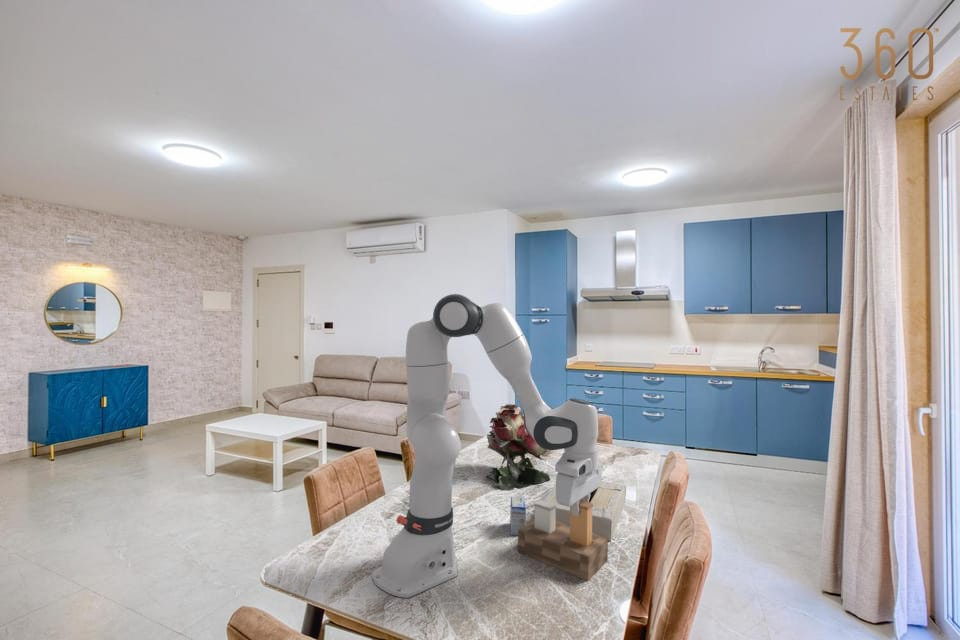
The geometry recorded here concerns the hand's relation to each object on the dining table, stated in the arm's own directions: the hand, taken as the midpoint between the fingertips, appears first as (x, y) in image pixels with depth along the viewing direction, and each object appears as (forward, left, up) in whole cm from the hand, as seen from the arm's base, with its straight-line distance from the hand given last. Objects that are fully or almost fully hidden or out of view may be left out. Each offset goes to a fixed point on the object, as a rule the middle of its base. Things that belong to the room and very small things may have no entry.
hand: (580, 512), depth 116 cm
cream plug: (0, +11, -11) cm, 16 cm away
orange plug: (0, 0, -8) cm, 8 cm away
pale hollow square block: (+29, +13, -14) cm, 35 cm away
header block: (0, +5, -14) cm, 15 cm away
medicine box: (+5, +23, -14) cm, 28 cm away
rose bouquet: (+43, +51, -14) cm, 68 cm away
